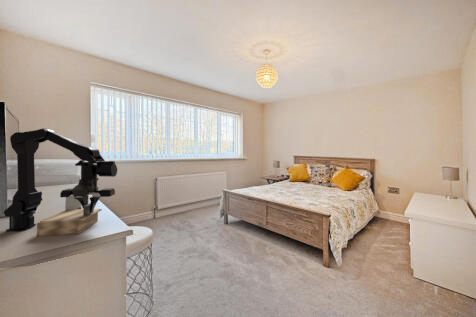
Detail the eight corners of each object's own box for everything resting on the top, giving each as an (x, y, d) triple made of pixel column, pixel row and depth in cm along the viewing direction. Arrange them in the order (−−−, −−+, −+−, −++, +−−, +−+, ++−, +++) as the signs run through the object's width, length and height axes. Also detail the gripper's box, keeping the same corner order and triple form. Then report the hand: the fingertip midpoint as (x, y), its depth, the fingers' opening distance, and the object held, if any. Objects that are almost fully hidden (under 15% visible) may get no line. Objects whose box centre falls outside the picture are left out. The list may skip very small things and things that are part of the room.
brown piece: (36, 236, 78) (36, 223, 78) (63, 222, 94) (63, 211, 94) (78, 234, 81) (78, 221, 81) (97, 221, 97) (97, 210, 97)
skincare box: (64, 221, 95) (64, 195, 95) (66, 219, 99) (66, 194, 98) (81, 219, 98) (81, 194, 98) (82, 217, 102) (82, 192, 102)
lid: (40, 222, 78) (40, 210, 78) (66, 211, 94) (66, 201, 94) (82, 221, 81) (82, 209, 81) (101, 210, 97) (101, 200, 97)
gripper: (51, 178, 79) (50, 219, 79) (105, 178, 83) (104, 217, 83) (68, 175, 90) (68, 211, 90) (115, 175, 93) (115, 210, 94)
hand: (88, 212), depth 89 cm, fingers closed on lid, 2 cm apart
